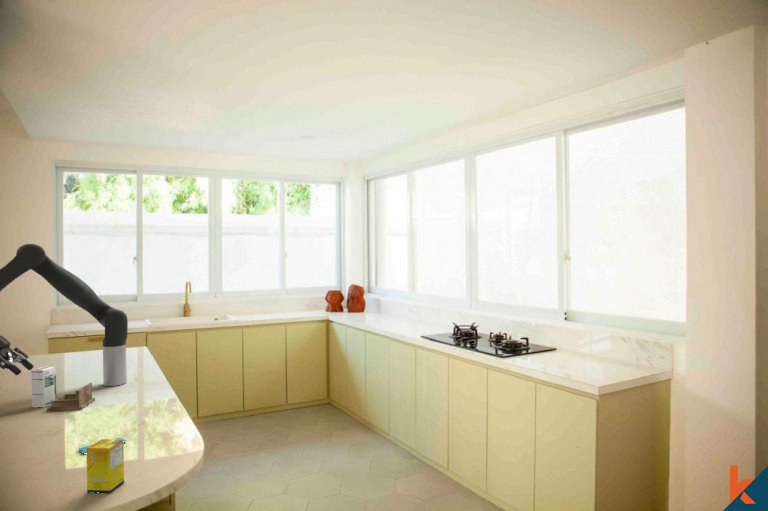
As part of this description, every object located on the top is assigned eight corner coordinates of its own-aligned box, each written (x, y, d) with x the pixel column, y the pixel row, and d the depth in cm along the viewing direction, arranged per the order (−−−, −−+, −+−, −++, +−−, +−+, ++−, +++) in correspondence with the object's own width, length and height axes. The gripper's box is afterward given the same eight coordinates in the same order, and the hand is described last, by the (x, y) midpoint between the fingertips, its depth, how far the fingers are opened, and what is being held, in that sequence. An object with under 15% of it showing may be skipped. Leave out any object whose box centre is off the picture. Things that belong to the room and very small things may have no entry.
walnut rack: (62, 402, 199) (61, 384, 199) (95, 400, 201) (94, 382, 201) (46, 411, 187) (46, 392, 187) (82, 409, 189) (81, 390, 189)
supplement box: (102, 482, 127) (101, 438, 127) (124, 483, 127) (124, 439, 127) (86, 493, 121) (85, 447, 121) (109, 494, 121) (109, 448, 121)
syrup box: (44, 408, 192) (43, 369, 192) (31, 407, 193) (30, 369, 193) (57, 403, 197) (56, 366, 197) (44, 403, 199) (43, 365, 199)
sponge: (128, 442, 153) (122, 435, 157) (82, 453, 145) (77, 446, 149) (128, 447, 153) (122, 440, 157) (82, 458, 145) (77, 451, 149)
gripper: (-12, 337, 186) (23, 367, 188) (10, 332, 200) (42, 359, 202) (-28, 353, 185) (7, 382, 187) (-5, 346, 199) (28, 374, 201)
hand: (25, 370), depth 194 cm, fingers open, 8 cm apart
